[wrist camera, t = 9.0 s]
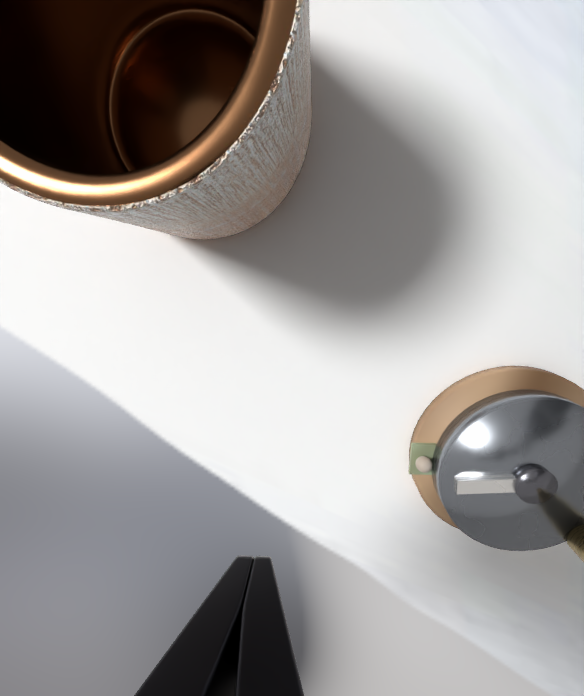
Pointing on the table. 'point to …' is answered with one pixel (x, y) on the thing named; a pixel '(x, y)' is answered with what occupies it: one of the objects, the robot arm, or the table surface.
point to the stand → (462, 398)
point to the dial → (515, 471)
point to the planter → (156, 108)
